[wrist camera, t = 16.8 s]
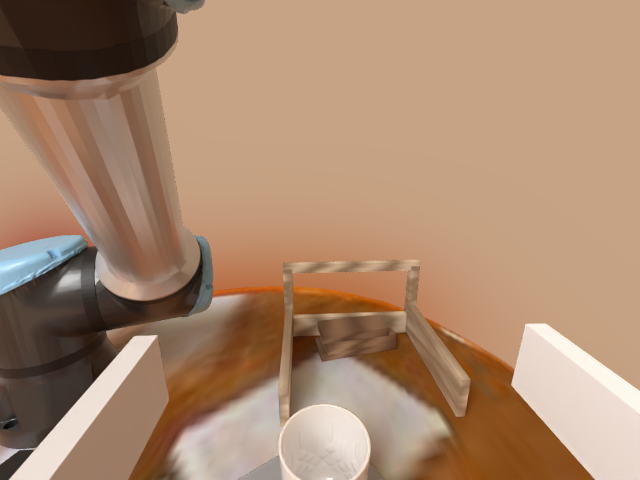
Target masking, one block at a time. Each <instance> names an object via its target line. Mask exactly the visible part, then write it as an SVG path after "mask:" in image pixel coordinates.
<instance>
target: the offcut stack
mask: <svg viewBox="0 0 640 480" xmlns="http://www.w3.org/2000/svg"><path fill="white" fill-rule="evenodd" d="M318 331H319V333H320V337H319V338H315V345H316V348H317V350H318V353H319V355H320V358H321V360H322V362H323V361H328V360H334V359H340V358H346V357H351V356H357V355H363V354H369V353H374V352H380V351H386V350H392V349H396V347H397V342H396V335H397V333H396V332H395V331H394V330H393V329H392V328H391V327H390V326H389V325H388V324H387V323H386V322H385V321H384V320H383V319H382V317H381V316H380V315H379V314H376V315H367V316H358V317H349V318H340V319H331V320H322V321H318Z"/></svg>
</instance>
